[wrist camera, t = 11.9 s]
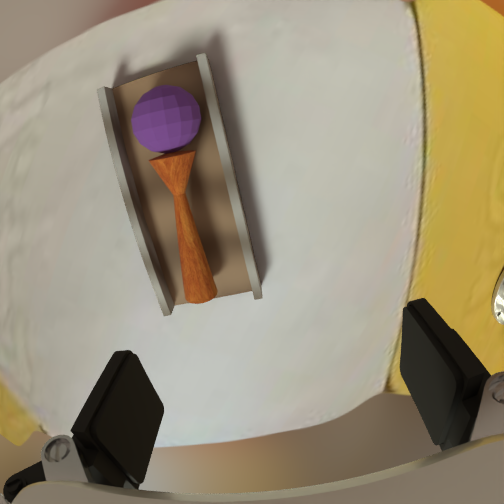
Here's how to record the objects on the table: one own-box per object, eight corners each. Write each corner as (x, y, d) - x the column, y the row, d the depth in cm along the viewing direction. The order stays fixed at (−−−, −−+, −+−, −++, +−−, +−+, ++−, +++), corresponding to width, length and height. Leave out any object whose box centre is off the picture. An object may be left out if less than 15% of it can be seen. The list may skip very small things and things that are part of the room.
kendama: (163, 311, 29) (113, 94, 21) (183, 280, 34) (146, 95, 27) (223, 311, 28) (181, 74, 20) (236, 278, 33) (204, 81, 26)
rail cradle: (261, 285, 34) (262, 298, 32) (169, 303, 35) (164, 316, 32) (208, 59, 26) (205, 52, 23) (108, 92, 27) (96, 89, 24)
